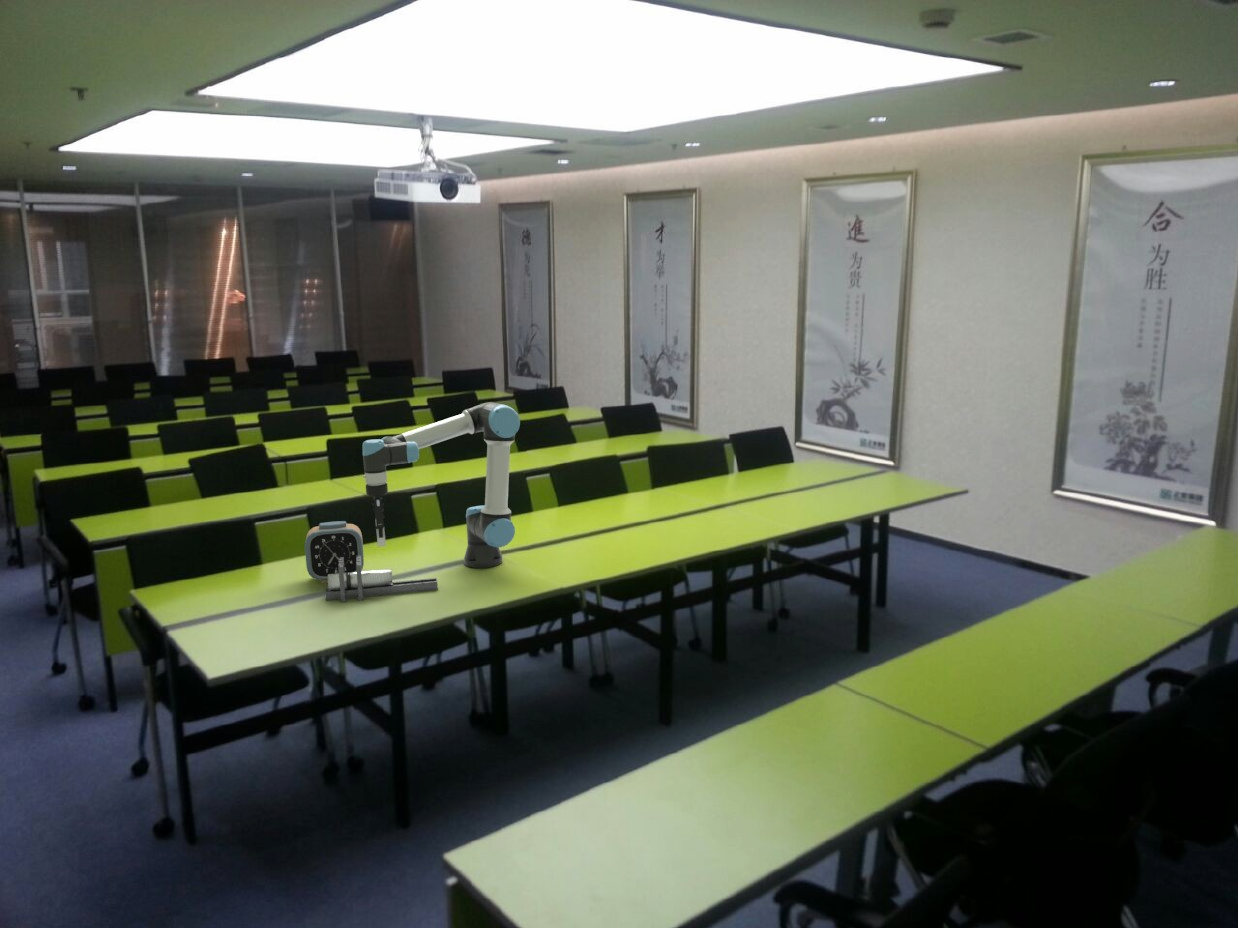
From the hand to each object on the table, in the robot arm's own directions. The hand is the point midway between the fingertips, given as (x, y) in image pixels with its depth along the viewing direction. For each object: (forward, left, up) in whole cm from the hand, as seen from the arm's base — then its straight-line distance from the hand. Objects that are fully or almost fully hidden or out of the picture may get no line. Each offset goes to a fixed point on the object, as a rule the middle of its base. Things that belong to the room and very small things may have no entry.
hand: (381, 540), depth 336 cm
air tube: (+8, +2, -16) cm, 18 cm away
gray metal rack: (+1, +2, -19) cm, 19 cm away
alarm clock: (+17, -22, -19) cm, 34 cm away
